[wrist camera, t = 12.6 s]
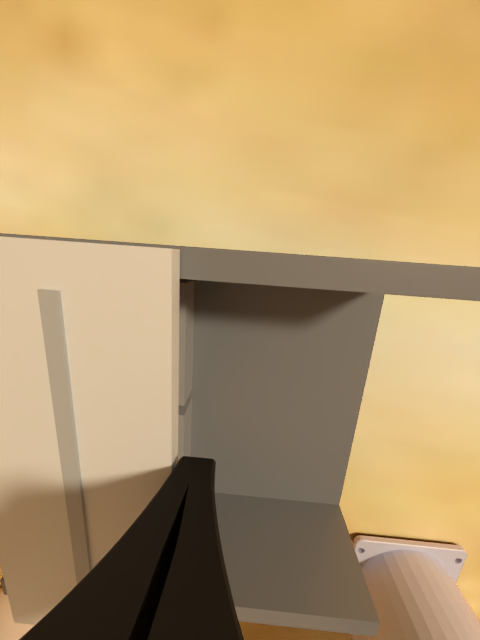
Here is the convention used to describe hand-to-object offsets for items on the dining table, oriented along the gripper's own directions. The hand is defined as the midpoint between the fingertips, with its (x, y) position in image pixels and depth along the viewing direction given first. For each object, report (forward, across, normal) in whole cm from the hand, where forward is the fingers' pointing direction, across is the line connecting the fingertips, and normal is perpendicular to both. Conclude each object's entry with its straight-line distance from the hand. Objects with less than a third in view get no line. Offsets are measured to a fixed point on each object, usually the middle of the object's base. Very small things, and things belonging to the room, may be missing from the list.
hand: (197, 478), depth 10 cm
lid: (0, +4, 0) cm, 4 cm away
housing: (+7, 0, 0) cm, 7 cm away
